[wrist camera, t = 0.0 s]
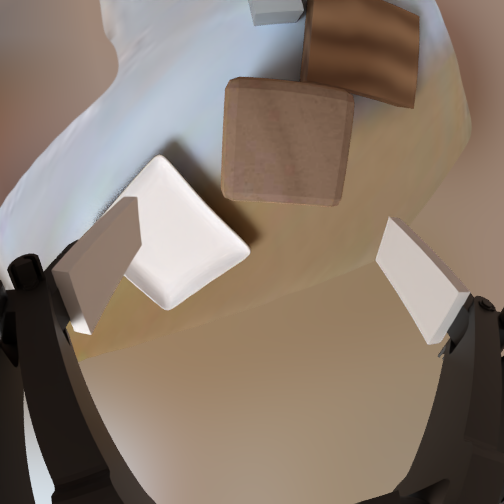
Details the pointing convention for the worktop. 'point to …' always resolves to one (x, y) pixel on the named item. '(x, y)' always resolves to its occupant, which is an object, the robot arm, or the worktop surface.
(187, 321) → the worktop surface
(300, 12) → the slate cube
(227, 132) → the block
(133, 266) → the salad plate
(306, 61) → the plinth
